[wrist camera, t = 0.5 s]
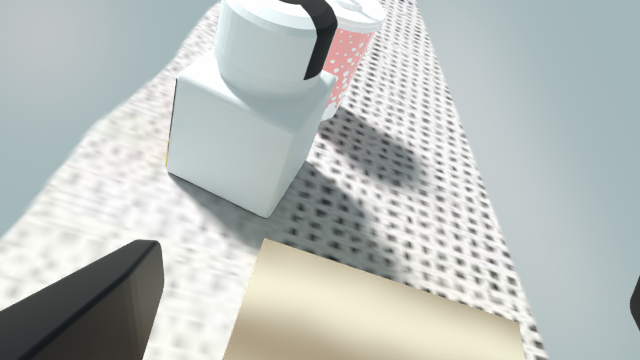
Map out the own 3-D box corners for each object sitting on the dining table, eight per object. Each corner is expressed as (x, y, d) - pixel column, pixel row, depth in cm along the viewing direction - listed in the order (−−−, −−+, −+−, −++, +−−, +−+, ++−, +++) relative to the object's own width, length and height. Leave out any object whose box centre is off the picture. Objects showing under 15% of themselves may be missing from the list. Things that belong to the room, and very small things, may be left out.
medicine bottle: (218, 117, 35) (252, -51, 27) (306, 159, 35) (367, 1, 27) (162, 171, 30) (185, -19, 22) (267, 222, 29) (328, 47, 22)
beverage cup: (349, 98, 42) (417, -68, 33) (337, 136, 38) (413, -44, 29) (283, 72, 42) (334, -101, 33) (263, 108, 38) (316, -83, 28)
